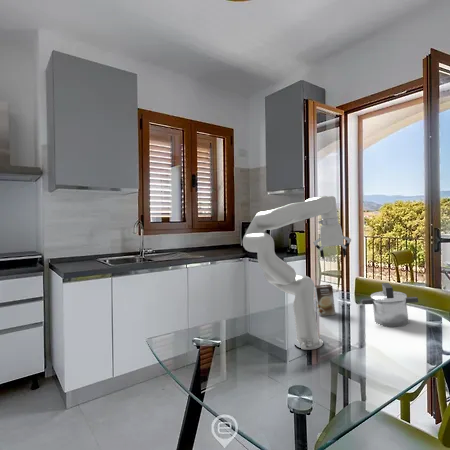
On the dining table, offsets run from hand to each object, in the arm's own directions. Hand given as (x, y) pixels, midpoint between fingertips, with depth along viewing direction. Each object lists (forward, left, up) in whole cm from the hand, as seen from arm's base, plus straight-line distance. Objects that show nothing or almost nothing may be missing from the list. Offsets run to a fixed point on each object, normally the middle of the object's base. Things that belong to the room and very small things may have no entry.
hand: (333, 257), depth 156 cm
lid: (+12, -24, -24) cm, 36 cm away
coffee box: (+27, +7, -36) cm, 46 cm away
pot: (+12, -24, -36) cm, 45 cm away
